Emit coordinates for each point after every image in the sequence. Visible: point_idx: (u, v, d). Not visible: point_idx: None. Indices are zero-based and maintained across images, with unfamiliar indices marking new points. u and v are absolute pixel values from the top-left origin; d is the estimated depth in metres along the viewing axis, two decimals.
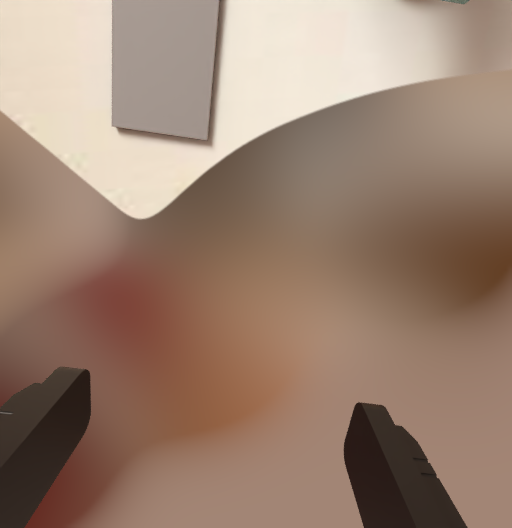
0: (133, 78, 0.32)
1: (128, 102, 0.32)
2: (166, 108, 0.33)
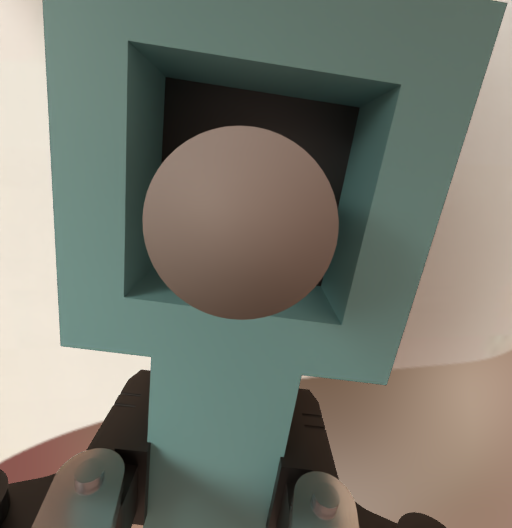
0: None
1: None
2: None
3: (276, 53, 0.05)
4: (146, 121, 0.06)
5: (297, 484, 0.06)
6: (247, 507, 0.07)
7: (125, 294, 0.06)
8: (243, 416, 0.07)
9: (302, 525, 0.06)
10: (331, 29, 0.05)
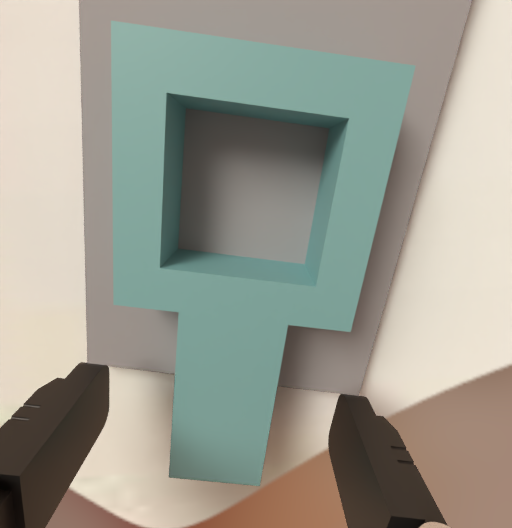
0: None
1: (135, 307, 0.11)
2: None
3: (265, 99, 0.07)
4: (174, 142, 0.08)
5: None
6: (250, 431, 0.10)
7: (160, 267, 0.08)
8: (246, 357, 0.09)
9: None
10: (300, 83, 0.07)
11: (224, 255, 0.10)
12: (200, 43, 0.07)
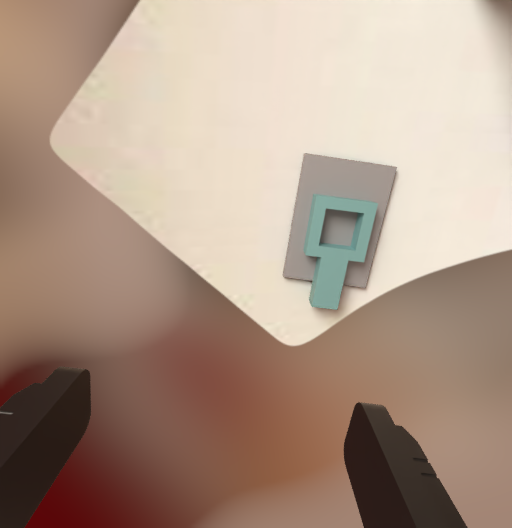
0: None
1: (300, 259, 0.37)
2: None
3: (346, 209, 0.33)
4: None
5: None
6: (336, 291, 0.36)
7: (318, 245, 0.34)
8: (337, 269, 0.35)
9: None
10: (354, 206, 0.33)
11: (328, 243, 0.36)
12: (334, 199, 0.33)
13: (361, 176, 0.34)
